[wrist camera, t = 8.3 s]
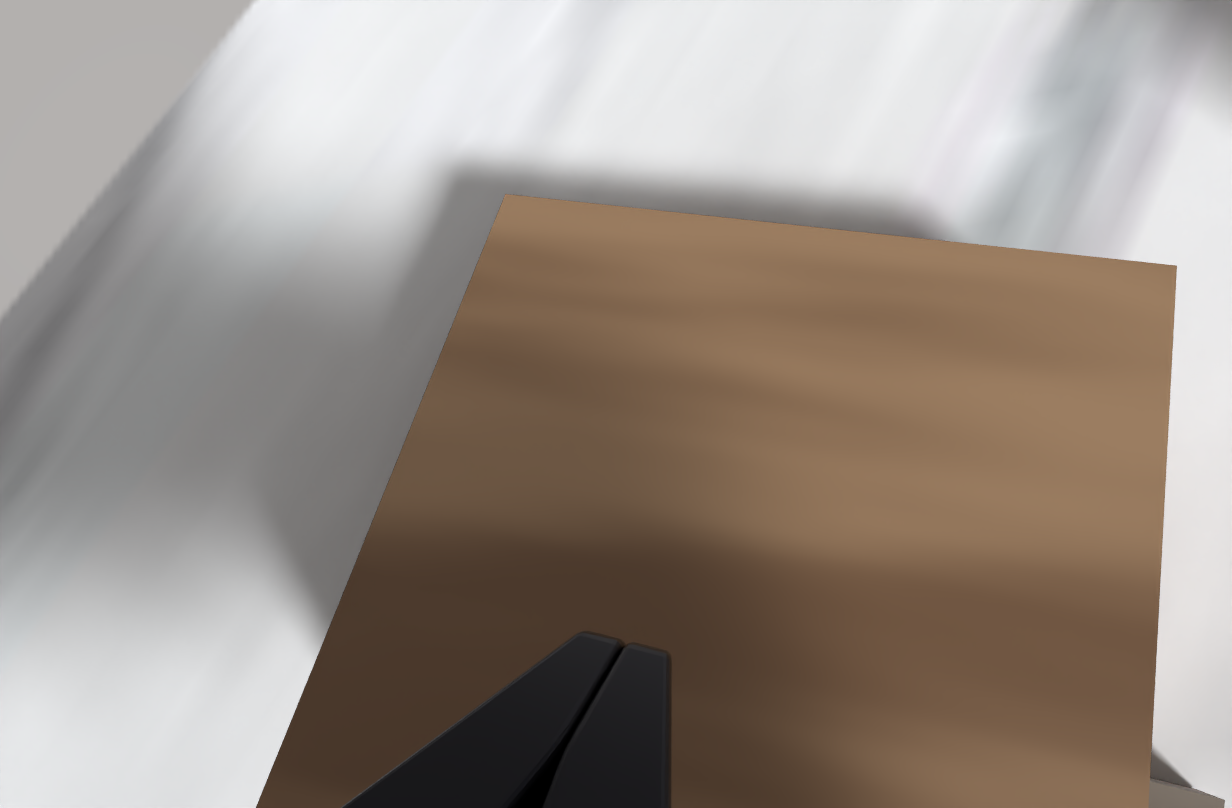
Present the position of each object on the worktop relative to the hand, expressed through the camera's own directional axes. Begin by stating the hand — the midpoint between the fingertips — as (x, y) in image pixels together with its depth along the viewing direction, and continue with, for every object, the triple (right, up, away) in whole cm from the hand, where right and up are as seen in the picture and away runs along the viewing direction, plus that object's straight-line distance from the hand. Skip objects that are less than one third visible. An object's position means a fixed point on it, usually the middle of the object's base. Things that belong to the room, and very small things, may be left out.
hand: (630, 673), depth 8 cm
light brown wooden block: (0, -5, +4) cm, 6 cm away
